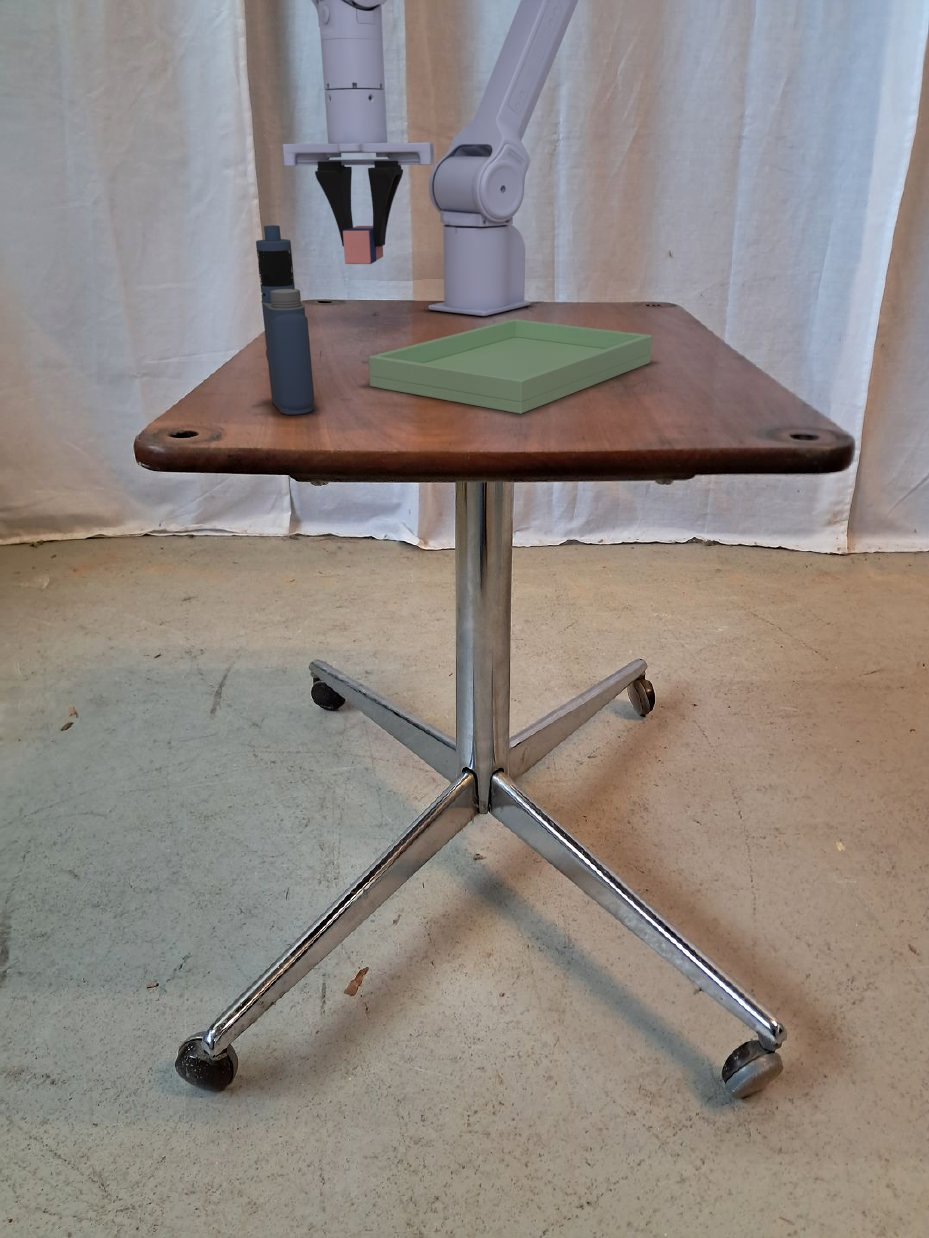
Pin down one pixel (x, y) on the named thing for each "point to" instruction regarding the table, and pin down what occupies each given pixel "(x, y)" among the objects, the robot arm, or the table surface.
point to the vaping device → (284, 326)
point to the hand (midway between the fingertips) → (363, 245)
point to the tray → (510, 364)
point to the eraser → (360, 246)
